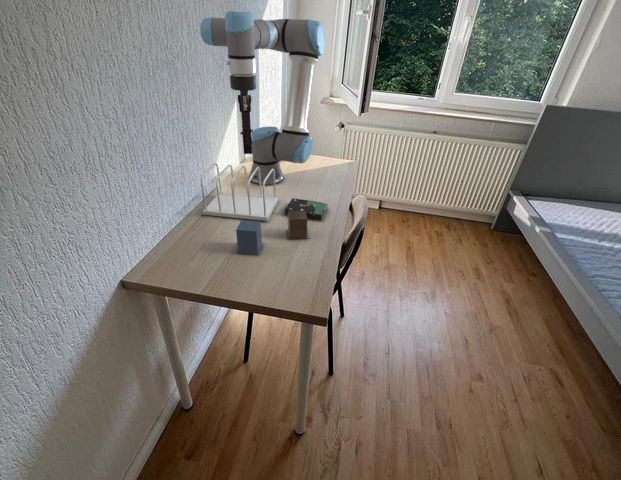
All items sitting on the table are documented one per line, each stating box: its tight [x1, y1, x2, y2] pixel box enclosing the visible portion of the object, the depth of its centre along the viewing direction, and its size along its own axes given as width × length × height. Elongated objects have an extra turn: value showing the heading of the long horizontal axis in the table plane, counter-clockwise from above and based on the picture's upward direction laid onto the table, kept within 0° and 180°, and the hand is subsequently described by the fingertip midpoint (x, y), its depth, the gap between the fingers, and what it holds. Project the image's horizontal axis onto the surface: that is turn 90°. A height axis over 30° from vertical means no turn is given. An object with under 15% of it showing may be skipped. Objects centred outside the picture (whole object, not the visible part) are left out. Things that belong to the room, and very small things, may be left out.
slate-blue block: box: [235, 219, 263, 256], centre depth 112 cm, size 6×6×9 cm
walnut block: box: [287, 211, 308, 241], centre depth 120 cm, size 6×6×8 cm
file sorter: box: [200, 162, 279, 222], centre depth 133 cm, size 25×17×16 cm
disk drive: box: [284, 197, 329, 221], centre depth 136 cm, size 10×3×15 cm
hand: (248, 153), depth 114 cm, fingers closed
